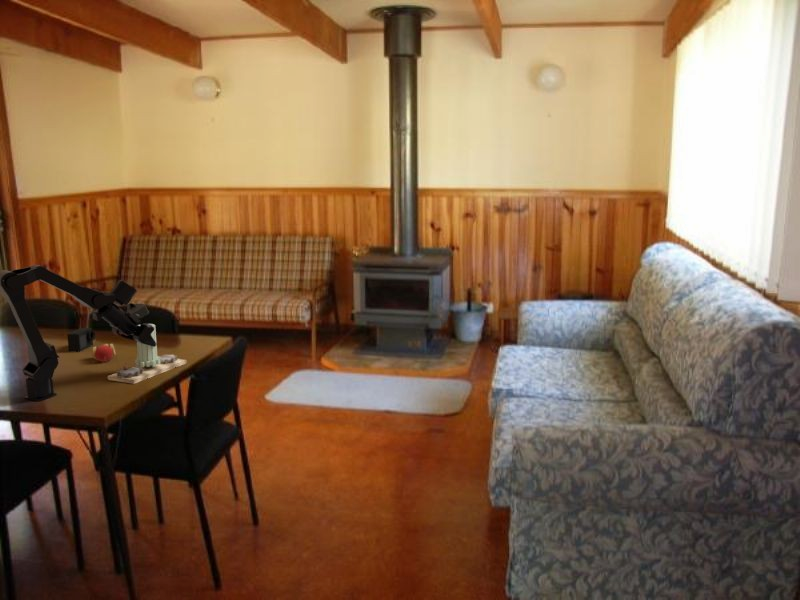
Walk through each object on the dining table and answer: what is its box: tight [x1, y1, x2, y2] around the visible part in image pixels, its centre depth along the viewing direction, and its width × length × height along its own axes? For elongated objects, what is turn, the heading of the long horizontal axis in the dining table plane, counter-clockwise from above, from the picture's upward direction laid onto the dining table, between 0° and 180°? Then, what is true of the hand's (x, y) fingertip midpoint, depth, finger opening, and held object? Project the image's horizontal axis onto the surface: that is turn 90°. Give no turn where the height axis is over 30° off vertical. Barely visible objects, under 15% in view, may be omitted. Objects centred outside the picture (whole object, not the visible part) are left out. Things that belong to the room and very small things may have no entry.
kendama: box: [92, 343, 116, 363], centre depth 244 cm, size 8×6×18 cm
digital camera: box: [66, 327, 96, 353], centre depth 256 cm, size 10×5×7 cm, turn 178°
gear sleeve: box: [134, 323, 161, 367], centre depth 226 cm, size 8×8×13 cm
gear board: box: [107, 353, 188, 385], centre depth 227 cm, size 25×11×5 cm, turn 157°
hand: (150, 343), depth 227 cm, fingers closed on gear sleeve, 6 cm apart
